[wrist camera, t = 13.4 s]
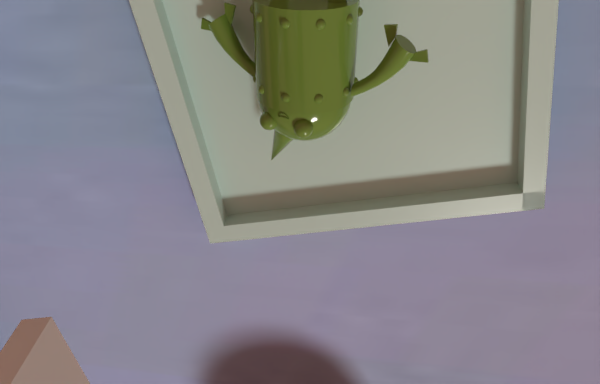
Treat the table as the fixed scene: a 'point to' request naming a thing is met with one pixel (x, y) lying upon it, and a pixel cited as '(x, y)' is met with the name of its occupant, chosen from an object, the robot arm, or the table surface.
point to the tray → (365, 119)
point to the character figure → (307, 63)
